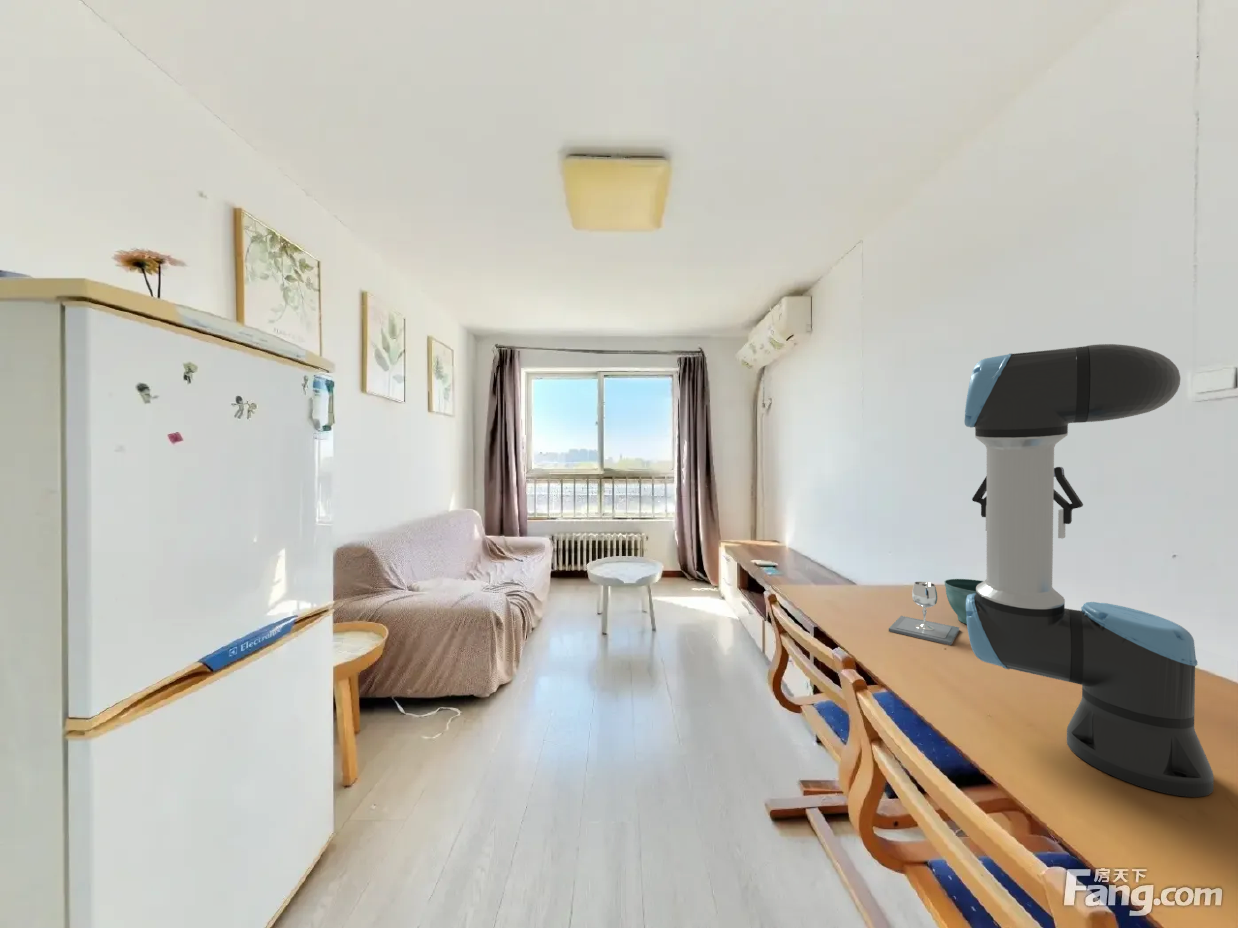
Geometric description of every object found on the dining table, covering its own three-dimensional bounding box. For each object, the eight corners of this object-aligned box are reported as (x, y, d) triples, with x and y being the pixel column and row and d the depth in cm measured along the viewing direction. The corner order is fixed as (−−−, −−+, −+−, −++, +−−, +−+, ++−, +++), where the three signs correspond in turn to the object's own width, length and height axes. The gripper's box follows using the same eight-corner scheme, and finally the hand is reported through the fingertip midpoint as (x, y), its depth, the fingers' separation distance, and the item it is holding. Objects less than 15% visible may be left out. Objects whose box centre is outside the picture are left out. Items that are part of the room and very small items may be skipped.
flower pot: (951, 610, 144) (952, 575, 144) (1020, 623, 133) (1020, 585, 132) (937, 622, 134) (937, 585, 133) (1010, 638, 122) (1010, 597, 122)
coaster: (951, 645, 117) (951, 641, 117) (888, 631, 127) (888, 627, 127) (959, 630, 128) (959, 626, 128) (901, 618, 137) (901, 615, 137)
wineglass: (939, 627, 127) (939, 583, 127) (935, 633, 123) (935, 587, 123) (914, 622, 131) (914, 579, 131) (909, 627, 127) (910, 583, 127)
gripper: (1100, 445, 105) (1099, 539, 106) (968, 448, 125) (967, 526, 126) (1094, 445, 101) (1093, 542, 101) (958, 447, 121) (957, 529, 121)
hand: (1023, 534), depth 113 cm, fingers open, 13 cm apart
